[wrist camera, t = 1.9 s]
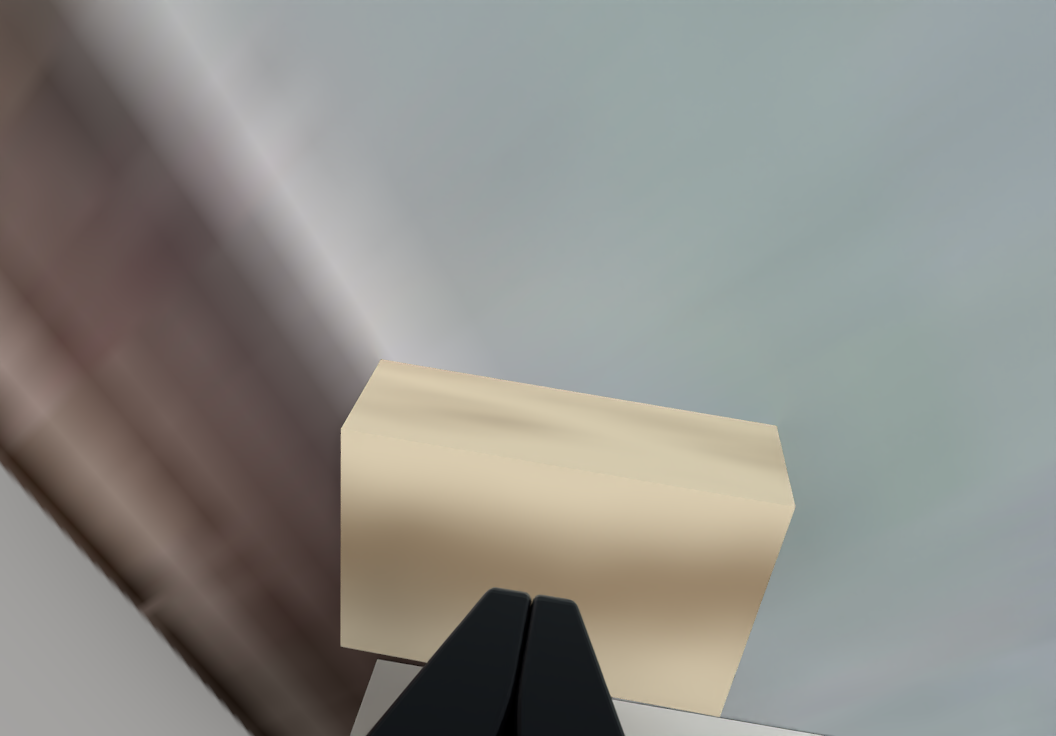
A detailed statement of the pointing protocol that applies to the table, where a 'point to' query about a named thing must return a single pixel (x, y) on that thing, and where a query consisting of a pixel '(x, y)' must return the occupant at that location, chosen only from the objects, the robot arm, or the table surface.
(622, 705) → the off-white board
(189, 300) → the table surface
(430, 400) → the birch block
